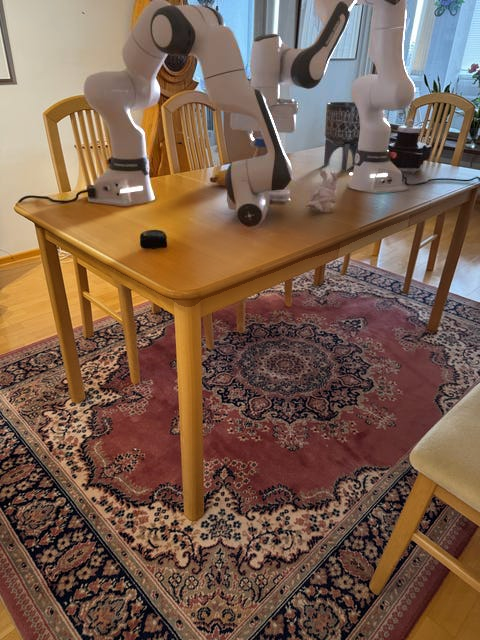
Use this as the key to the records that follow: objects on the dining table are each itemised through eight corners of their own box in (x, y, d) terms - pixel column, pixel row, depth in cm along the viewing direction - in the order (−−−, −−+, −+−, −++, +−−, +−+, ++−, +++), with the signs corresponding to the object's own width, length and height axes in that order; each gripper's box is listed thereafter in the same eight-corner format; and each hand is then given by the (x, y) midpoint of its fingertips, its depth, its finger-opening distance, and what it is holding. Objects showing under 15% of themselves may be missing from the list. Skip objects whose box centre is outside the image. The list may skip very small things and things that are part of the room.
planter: (313, 167, 208) (319, 103, 195) (331, 160, 222) (338, 101, 209) (353, 173, 199) (362, 107, 185) (369, 166, 213) (379, 104, 199)
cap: (251, 145, 143) (252, 137, 141) (262, 144, 145) (262, 136, 144) (261, 147, 140) (262, 139, 139) (272, 146, 142) (272, 138, 141)
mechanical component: (377, 119, 195) (405, 114, 215) (369, 169, 206) (397, 160, 225) (427, 124, 183) (452, 118, 203) (415, 177, 194) (441, 167, 213)
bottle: (268, 205, 154) (272, 139, 143) (265, 209, 149) (269, 141, 139) (253, 203, 155) (255, 138, 144) (249, 208, 151) (251, 140, 140)
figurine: (341, 207, 153) (346, 168, 147) (322, 218, 142) (326, 176, 136) (319, 203, 157) (323, 165, 150) (299, 213, 146) (302, 173, 140)
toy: (207, 178, 170) (214, 169, 182) (213, 195, 173) (220, 184, 185) (234, 169, 167) (240, 160, 179) (240, 186, 169) (245, 176, 182)
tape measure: (140, 252, 115) (139, 238, 113) (141, 242, 120) (140, 229, 119) (167, 251, 116) (166, 237, 114) (167, 241, 121) (166, 228, 120)
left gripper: (290, 191, 136) (292, 181, 147) (223, 188, 138) (230, 177, 150) (289, 212, 139) (291, 200, 151) (223, 208, 141) (230, 196, 153)
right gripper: (299, 98, 136) (296, 147, 143) (234, 95, 140) (233, 143, 147) (296, 100, 131) (293, 150, 138) (228, 97, 135) (228, 146, 142)
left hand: (260, 189), depth 150 cm, fingers closed on bottle, 5 cm apart
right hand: (261, 146), depth 143 cm, fingers closed on cap, 4 cm apart
